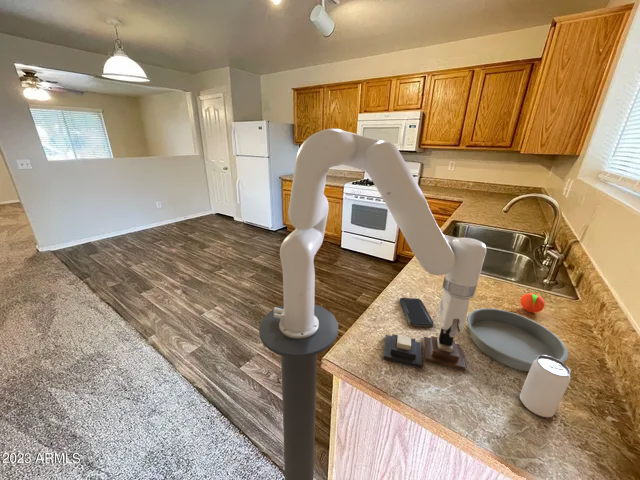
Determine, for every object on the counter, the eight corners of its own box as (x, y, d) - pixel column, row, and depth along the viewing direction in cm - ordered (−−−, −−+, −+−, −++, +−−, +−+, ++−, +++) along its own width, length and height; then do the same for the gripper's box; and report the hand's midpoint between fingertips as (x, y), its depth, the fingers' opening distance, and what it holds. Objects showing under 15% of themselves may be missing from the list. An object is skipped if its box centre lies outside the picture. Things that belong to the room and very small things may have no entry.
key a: (396, 347, 73) (397, 342, 73) (397, 339, 77) (397, 334, 76) (410, 351, 72) (411, 345, 72) (410, 342, 76) (410, 337, 75)
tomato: (541, 320, 91) (548, 303, 89) (517, 312, 95) (523, 295, 92) (541, 309, 97) (547, 293, 95) (518, 303, 101) (523, 286, 98)
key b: (437, 351, 73) (438, 346, 73) (436, 342, 77) (437, 337, 76) (451, 354, 72) (453, 349, 72) (449, 345, 76) (451, 340, 75)
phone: (420, 298, 100) (434, 324, 86) (419, 301, 100) (433, 327, 86) (399, 297, 100) (409, 322, 86) (398, 300, 100) (409, 325, 86)
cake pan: (582, 390, 65) (589, 376, 64) (472, 363, 72) (475, 350, 71) (540, 328, 87) (544, 316, 86) (458, 312, 94) (461, 301, 93)
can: (513, 391, 64) (528, 352, 60) (541, 394, 64) (558, 355, 60) (530, 416, 58) (547, 375, 54) (561, 420, 58) (582, 379, 54)
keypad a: (383, 359, 73) (384, 350, 72) (385, 337, 81) (386, 329, 80) (421, 368, 70) (423, 360, 69) (419, 345, 78) (421, 337, 77)
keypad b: (424, 361, 73) (426, 352, 71) (423, 339, 81) (424, 331, 80) (464, 370, 70) (467, 362, 69) (458, 347, 78) (460, 339, 77)
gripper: (440, 270, 75) (428, 323, 82) (447, 298, 62) (432, 359, 68) (469, 275, 73) (455, 329, 80) (483, 304, 60) (465, 366, 66)
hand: (444, 343), depth 74 cm, fingers closed
